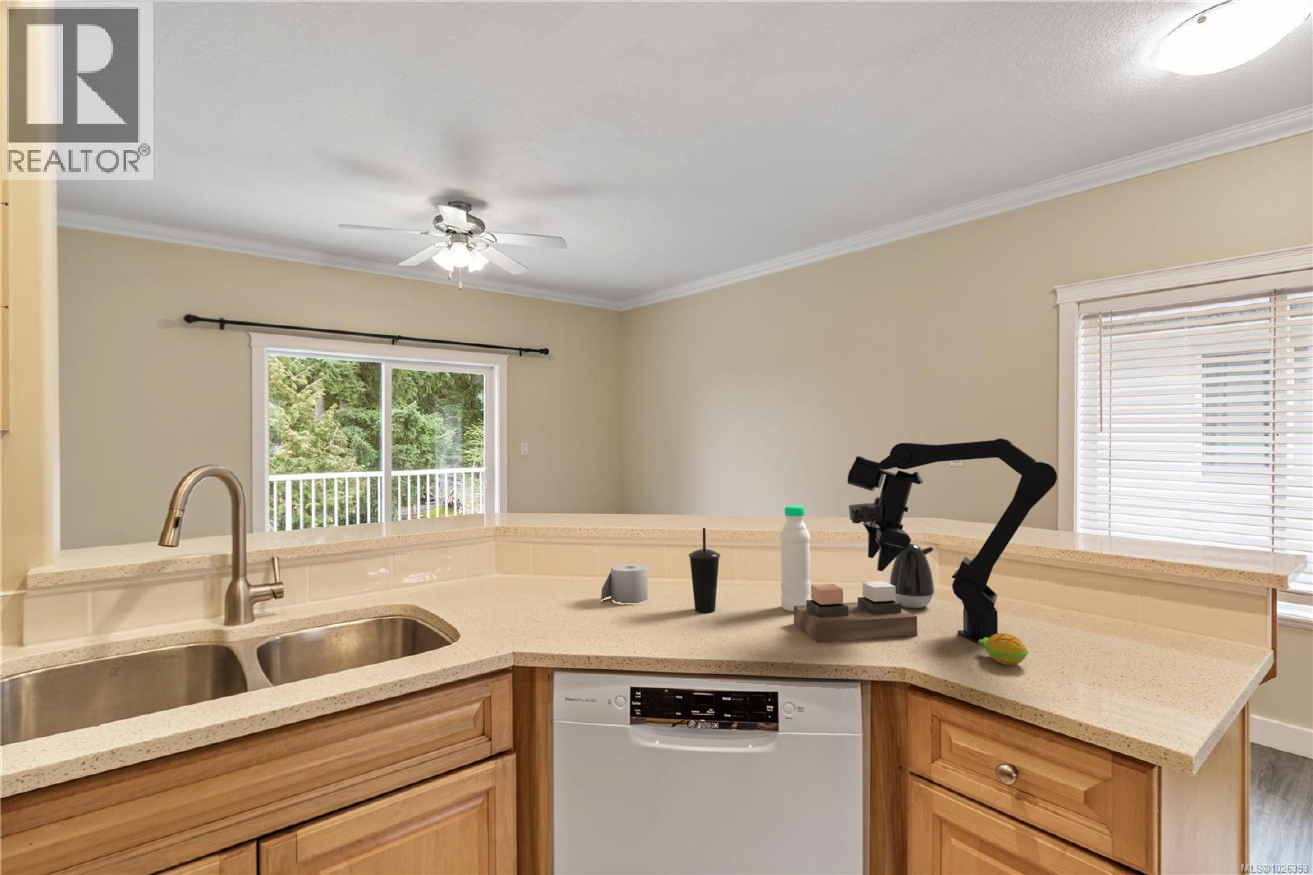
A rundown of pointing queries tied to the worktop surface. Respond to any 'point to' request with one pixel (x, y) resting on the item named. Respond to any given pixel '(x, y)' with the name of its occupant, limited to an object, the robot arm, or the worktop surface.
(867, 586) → the white key
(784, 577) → the water bottle
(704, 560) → the drinking cup
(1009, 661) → the maraca
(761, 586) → the worktop surface
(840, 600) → the terracotta key
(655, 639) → the worktop surface
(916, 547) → the pump dispenser
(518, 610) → the worktop surface
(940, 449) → the robot arm
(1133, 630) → the worktop surface
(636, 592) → the toilet tissue
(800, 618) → the console
